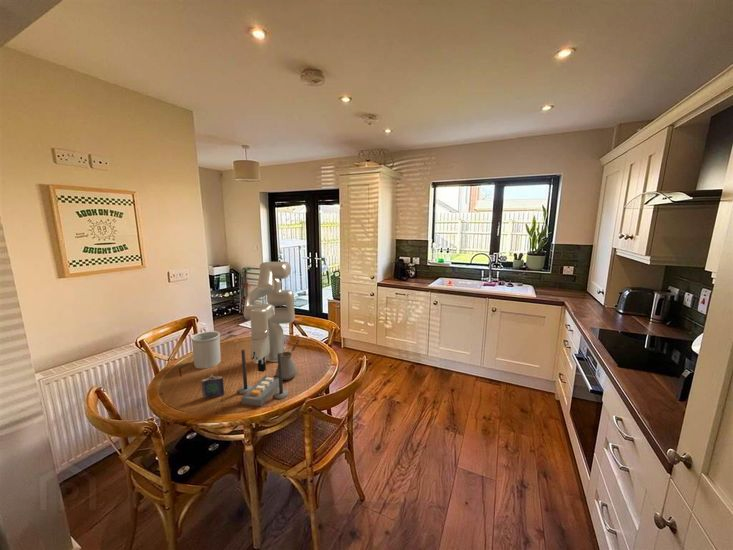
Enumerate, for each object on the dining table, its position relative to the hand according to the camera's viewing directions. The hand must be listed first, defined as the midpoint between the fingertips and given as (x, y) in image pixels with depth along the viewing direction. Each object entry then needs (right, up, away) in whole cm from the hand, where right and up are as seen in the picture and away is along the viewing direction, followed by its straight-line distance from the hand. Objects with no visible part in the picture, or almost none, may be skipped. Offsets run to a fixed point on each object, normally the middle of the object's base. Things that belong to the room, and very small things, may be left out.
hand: (262, 370), depth 139 cm
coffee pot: (+8, -9, +23) cm, 25 cm away
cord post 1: (-9, -11, +4) cm, 15 cm away
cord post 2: (+9, -12, 0) cm, 15 cm away
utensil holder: (-44, -7, +33) cm, 55 cm away
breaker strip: (0, -12, +2) cm, 12 cm away
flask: (-23, -12, -1) cm, 26 cm away
